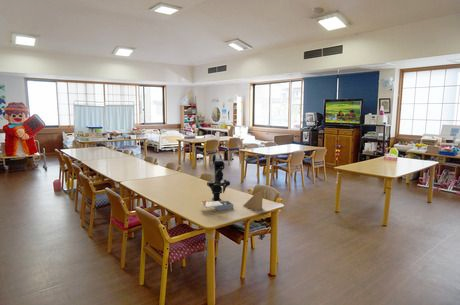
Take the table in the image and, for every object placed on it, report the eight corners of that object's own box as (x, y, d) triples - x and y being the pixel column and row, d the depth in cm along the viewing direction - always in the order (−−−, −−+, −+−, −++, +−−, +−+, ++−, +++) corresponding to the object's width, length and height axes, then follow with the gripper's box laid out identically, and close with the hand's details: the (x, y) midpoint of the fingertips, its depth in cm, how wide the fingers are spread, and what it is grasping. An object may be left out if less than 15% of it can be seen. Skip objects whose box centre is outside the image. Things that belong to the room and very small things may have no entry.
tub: (213, 207, 254) (214, 202, 253) (228, 205, 259) (228, 200, 259) (218, 211, 245) (218, 206, 244) (233, 209, 251) (233, 204, 250)
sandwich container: (249, 204, 265) (249, 187, 263) (262, 208, 254) (263, 191, 252) (242, 206, 259) (242, 189, 257) (255, 210, 248) (256, 193, 246)
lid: (200, 203, 248) (200, 198, 248) (217, 201, 255) (217, 196, 254) (205, 207, 239) (205, 202, 238) (223, 205, 246) (223, 199, 245)
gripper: (211, 178, 240) (211, 197, 243) (233, 176, 247) (232, 195, 250) (206, 175, 250) (206, 193, 253) (227, 173, 257) (227, 191, 260)
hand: (218, 193), depth 254 cm, fingers open, 9 cm apart
